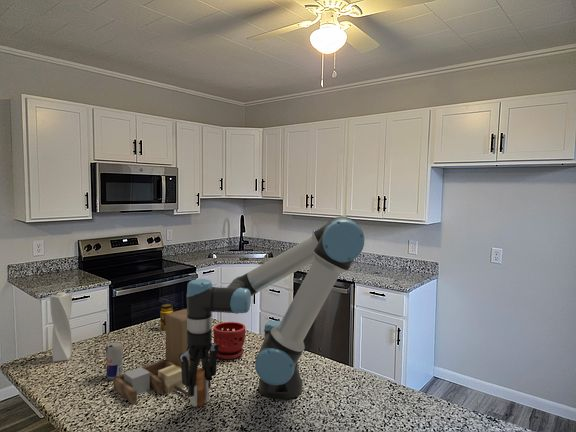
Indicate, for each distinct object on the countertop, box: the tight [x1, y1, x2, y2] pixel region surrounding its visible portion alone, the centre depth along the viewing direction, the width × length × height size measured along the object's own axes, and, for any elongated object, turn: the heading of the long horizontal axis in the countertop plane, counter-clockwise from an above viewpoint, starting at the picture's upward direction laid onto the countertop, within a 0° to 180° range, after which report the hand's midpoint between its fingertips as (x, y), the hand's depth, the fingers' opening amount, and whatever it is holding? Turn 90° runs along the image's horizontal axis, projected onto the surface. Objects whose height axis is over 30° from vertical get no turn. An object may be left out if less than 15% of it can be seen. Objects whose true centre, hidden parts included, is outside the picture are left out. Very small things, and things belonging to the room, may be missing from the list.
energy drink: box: [105, 341, 124, 381], centre depth 138 cm, size 5×5×12 cm
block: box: [123, 366, 151, 395], centre depth 130 cm, size 6×6×6 cm
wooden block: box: [165, 308, 201, 368], centre depth 150 cm, size 10×10×20 cm
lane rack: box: [113, 358, 181, 406], centre depth 133 cm, size 14×20×4 cm
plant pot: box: [212, 321, 246, 360], centre depth 159 cm, size 13×13×12 cm
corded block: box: [157, 365, 205, 408], centre depth 127 cm, size 20×6×11 cm, turn 50°
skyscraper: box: [47, 287, 74, 364], centre depth 151 cm, size 8×8×28 cm
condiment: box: [156, 303, 174, 333], centre depth 186 cm, size 7×8×12 cm
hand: (199, 401), depth 122 cm, fingers closed on corded block, 3 cm apart
